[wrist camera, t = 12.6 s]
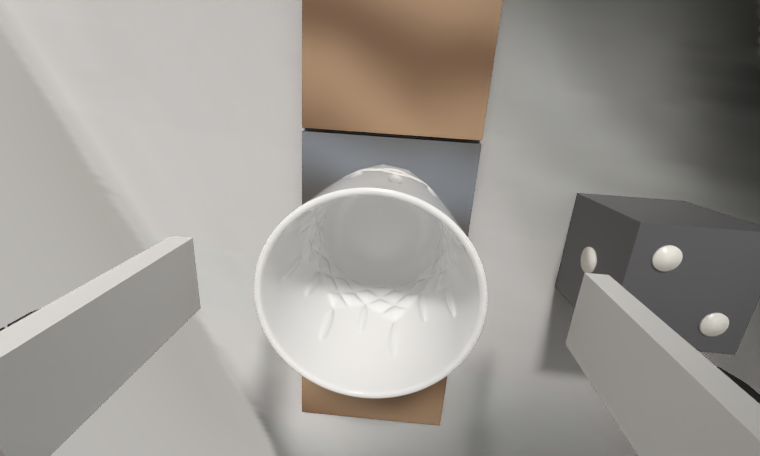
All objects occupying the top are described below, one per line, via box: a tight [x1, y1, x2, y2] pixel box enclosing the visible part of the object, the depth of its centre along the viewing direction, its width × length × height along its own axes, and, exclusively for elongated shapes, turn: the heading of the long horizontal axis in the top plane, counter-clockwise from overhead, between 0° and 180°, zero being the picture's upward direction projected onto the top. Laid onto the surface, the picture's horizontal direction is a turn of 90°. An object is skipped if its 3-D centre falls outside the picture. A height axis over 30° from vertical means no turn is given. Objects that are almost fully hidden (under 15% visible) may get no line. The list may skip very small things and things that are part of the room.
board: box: [302, 0, 503, 425], centre depth 22 cm, size 30×10×1 cm, turn 176°
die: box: [555, 193, 760, 355], centre depth 19 cm, size 6×6×6 cm
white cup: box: [254, 164, 488, 398], centre depth 17 cm, size 8×8×10 cm
